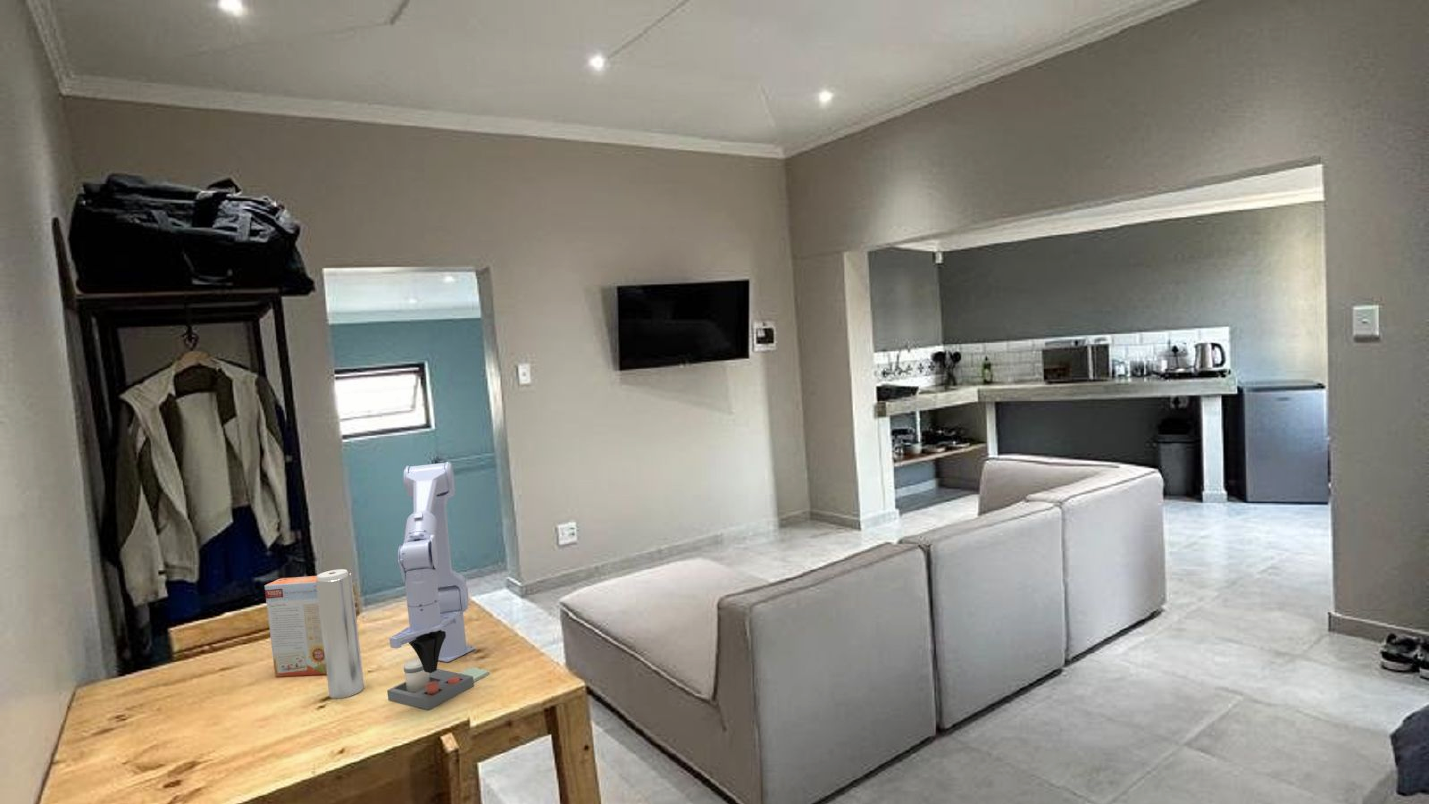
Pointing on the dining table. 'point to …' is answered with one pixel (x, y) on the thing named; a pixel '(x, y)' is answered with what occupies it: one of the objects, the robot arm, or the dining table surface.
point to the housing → (429, 701)
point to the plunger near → (432, 688)
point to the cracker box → (295, 626)
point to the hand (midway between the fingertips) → (430, 671)
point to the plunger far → (453, 680)
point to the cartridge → (415, 676)
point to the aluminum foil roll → (339, 633)
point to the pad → (475, 673)
